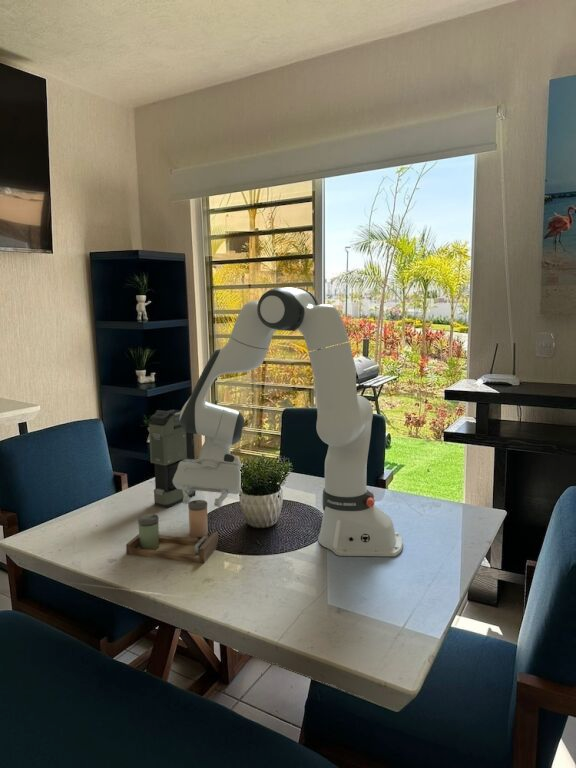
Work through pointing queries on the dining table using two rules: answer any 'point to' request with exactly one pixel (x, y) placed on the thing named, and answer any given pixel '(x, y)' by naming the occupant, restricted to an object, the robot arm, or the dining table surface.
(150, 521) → the olive jar
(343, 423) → the robot arm
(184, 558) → the wooden tray
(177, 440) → the device
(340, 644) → the dining table surface
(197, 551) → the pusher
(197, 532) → the terracotta jar
